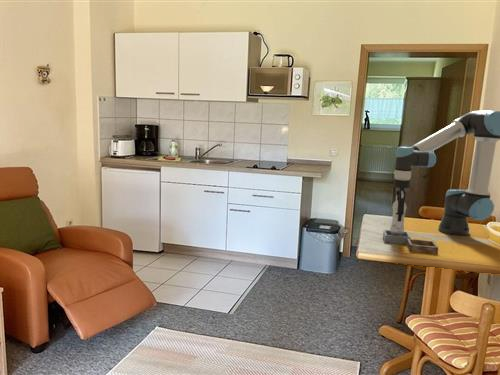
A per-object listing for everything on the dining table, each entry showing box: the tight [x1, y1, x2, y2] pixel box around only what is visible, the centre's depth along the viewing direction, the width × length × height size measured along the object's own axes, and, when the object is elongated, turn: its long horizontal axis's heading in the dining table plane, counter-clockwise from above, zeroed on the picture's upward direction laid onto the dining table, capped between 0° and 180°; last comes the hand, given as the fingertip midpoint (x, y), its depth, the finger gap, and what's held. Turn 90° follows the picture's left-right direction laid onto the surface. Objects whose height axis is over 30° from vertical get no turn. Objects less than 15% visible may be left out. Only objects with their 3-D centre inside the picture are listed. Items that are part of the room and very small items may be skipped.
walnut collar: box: [405, 238, 439, 255], centre depth 206 cm, size 12×11×3 cm
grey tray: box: [382, 229, 412, 245], centre depth 219 cm, size 12×11×4 cm
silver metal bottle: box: [389, 195, 407, 236], centre depth 217 cm, size 6×7×20 cm
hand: (397, 225), depth 218 cm, fingers closed on silver metal bottle, 6 cm apart
